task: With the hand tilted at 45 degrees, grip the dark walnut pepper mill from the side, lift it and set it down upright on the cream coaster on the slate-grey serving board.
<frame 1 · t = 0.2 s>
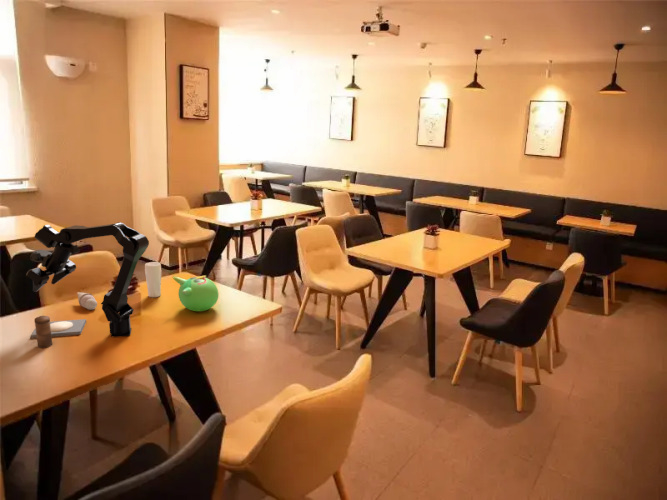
hand: (43, 287, 183), 15 cm above the table, fingers open, 9 cm apart
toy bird: (197, 309, 208), on the table
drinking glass: (154, 296, 222), on the table
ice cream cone: (85, 306, 207), on the table
pepper mill: (45, 345, 170), on the table
serving board: (59, 329, 183), on the table
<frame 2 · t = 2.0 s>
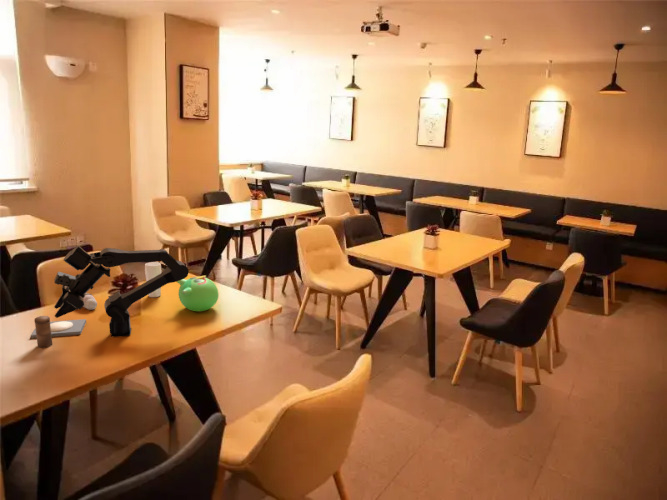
hand: (55, 312, 169), 11 cm above the table, fingers open, 9 cm apart
nothing on the table moved.
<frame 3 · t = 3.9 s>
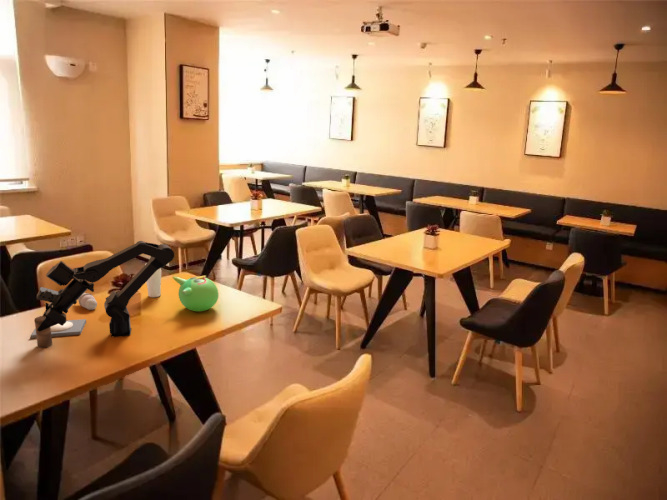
hand: (38, 328, 168), 7 cm above the table, fingers closed on pepper mill, 4 cm apart
pepper mill: (45, 345, 170), on the table, touching gripper
everything else where it was.
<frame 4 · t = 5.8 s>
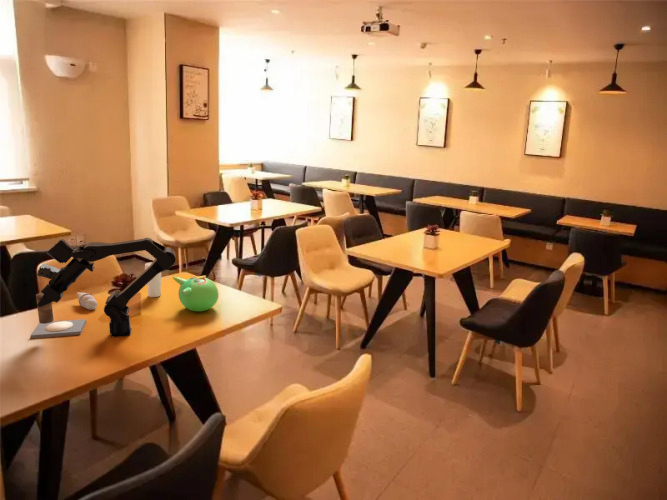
hand: (39, 303, 171), 13 cm above the table, fingers closed on pepper mill, 4 cm apart
pepper mill: (46, 321, 173), point 7 cm above the table, touching gripper
everything else where it was.
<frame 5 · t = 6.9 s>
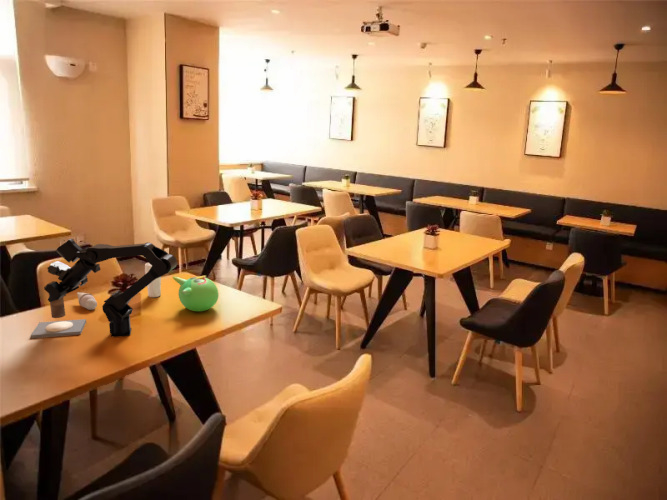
hand: (52, 298, 180), 12 cm above the table, fingers closed on pepper mill, 4 cm apart
pepper mill: (58, 315, 181), point 6 cm above the table, touching gripper
everything else where it was.
when the fingers open (9 cm above the table, at t = 7.8 s): pepper mill drops 1 cm, resting on serving board.
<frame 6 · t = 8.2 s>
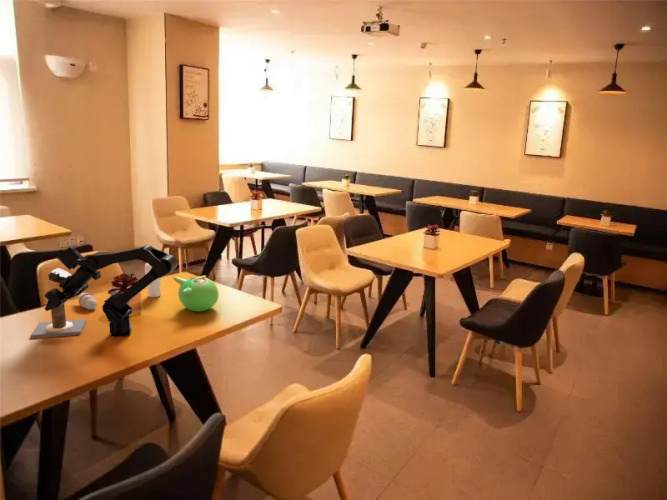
hand: (53, 305, 181), 10 cm above the table, fingers open, 9 cm apart
pepper mill: (59, 326, 182), point 2 cm above the table, touching serving board
everything else where it was.
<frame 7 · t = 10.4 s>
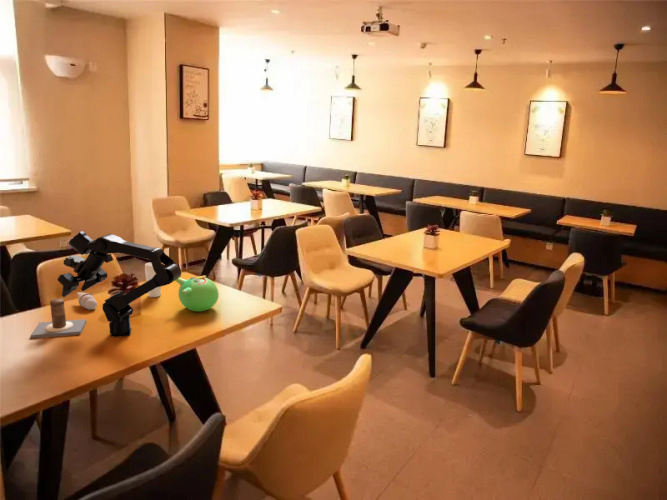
hand: (72, 293, 181), 14 cm above the table, fingers open, 9 cm apart
nothing on the table moved.
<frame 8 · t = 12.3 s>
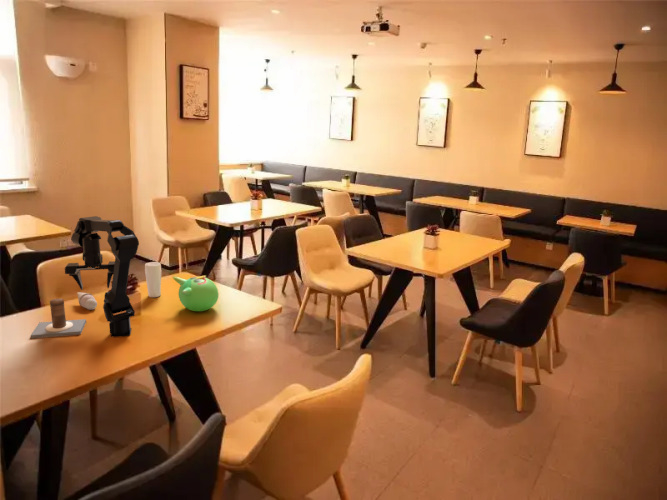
hand: (95, 288, 190), 13 cm above the table, fingers open, 9 cm apart
nothing on the table moved.
at the end: pepper mill inside the target area on the serving board (0.1 cm from its centre), point 1.5 cm above the serving board's base; pepper mill tilted 0°; the gripper is holding nothing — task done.
